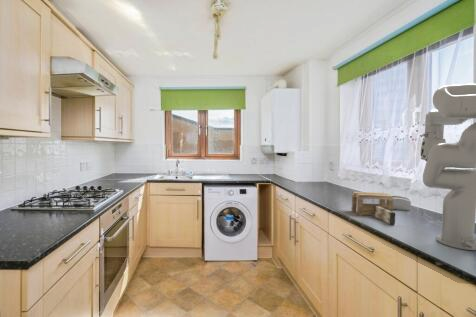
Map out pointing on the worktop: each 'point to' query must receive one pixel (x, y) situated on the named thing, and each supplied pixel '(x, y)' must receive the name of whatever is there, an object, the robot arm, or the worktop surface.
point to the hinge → (400, 203)
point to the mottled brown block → (385, 215)
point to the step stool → (370, 208)
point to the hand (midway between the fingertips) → (431, 170)
